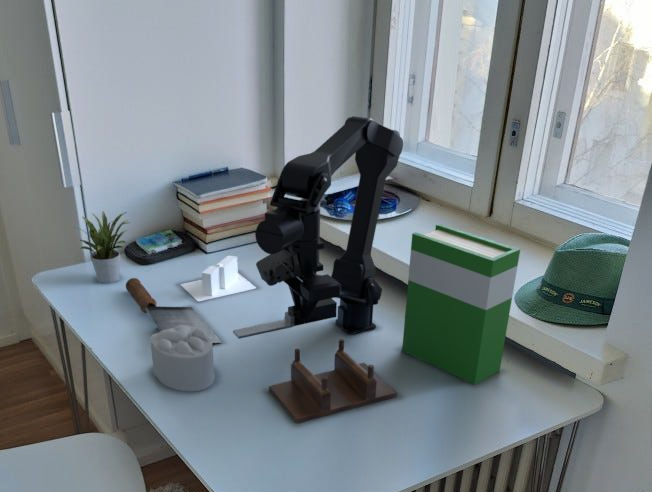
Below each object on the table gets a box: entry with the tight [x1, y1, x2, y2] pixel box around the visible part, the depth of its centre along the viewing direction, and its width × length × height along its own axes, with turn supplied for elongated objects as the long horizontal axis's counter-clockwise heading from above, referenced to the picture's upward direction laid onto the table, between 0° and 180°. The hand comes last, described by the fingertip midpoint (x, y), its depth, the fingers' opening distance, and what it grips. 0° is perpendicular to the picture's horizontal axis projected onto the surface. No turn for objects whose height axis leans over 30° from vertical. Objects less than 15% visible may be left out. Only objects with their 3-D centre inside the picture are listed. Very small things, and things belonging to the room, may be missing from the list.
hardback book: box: [401, 223, 521, 385], centre depth 143 cm, size 18×7×24 cm, turn 38°
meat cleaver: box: [125, 277, 223, 344], centre depth 169 cm, size 34×11×4 cm, turn 23°
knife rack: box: [268, 338, 398, 424], centre depth 139 cm, size 20×12×8 cm, turn 112°
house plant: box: [74, 211, 130, 284], centre depth 184 cm, size 14×14×16 cm
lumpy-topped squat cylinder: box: [149, 325, 215, 392], centre depth 146 cm, size 10×13×9 cm
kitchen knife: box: [232, 298, 338, 340], centre depth 144 cm, size 20×3×3 cm, turn 112°
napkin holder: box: [180, 255, 257, 302], centre depth 181 cm, size 15×11×6 cm
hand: (302, 316), depth 145 cm, fingers closed on kitchen knife, 2 cm apart
